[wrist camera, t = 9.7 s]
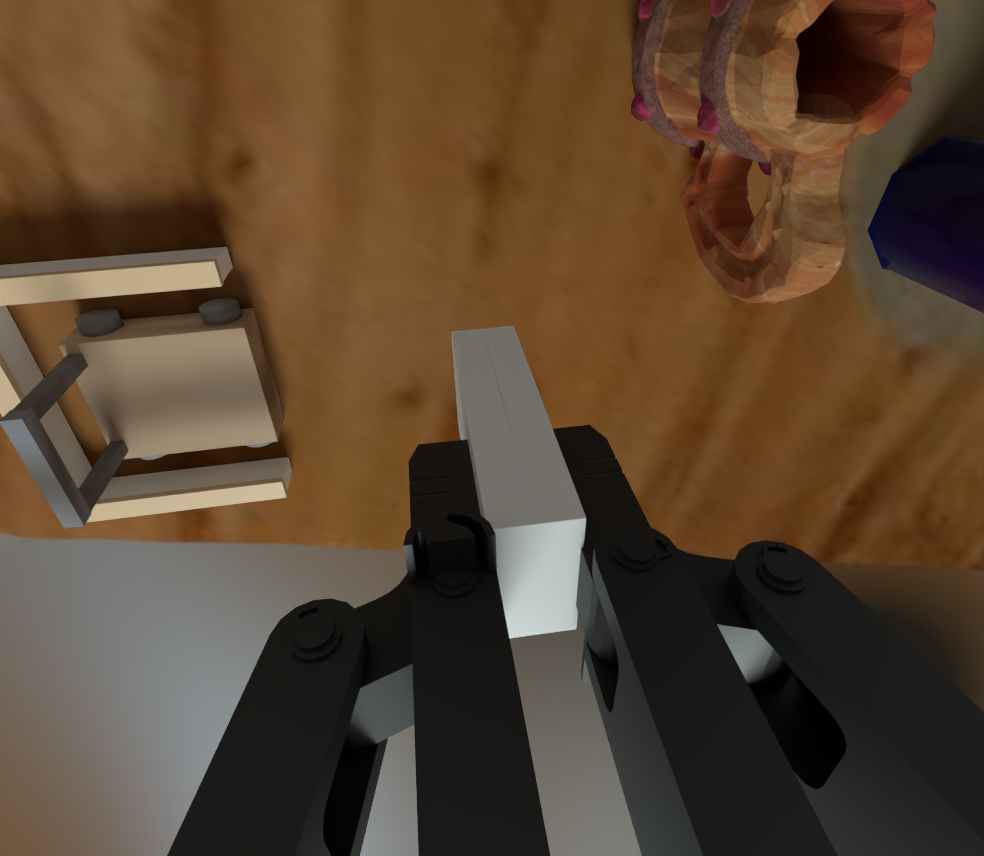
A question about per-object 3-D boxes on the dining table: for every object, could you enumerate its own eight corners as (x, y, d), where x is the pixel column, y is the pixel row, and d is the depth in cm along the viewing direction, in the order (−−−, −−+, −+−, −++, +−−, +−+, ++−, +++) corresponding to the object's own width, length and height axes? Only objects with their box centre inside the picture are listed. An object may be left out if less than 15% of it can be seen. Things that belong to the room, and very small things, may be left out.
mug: (618, -57, 29) (792, -126, 17) (773, -64, 30) (1050, -136, 17) (602, 241, 37) (710, 344, 25) (724, 229, 38) (888, 323, 26)
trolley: (76, 309, 35) (-20, 395, 26) (250, 294, 36) (210, 372, 28) (137, 441, 40) (73, 547, 32) (287, 424, 41) (262, 522, 33)
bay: (-42, 266, 32) (-77, 285, 30) (226, 244, 34) (214, 261, 31) (86, 495, 42) (67, 524, 39) (292, 471, 43) (286, 497, 41)
